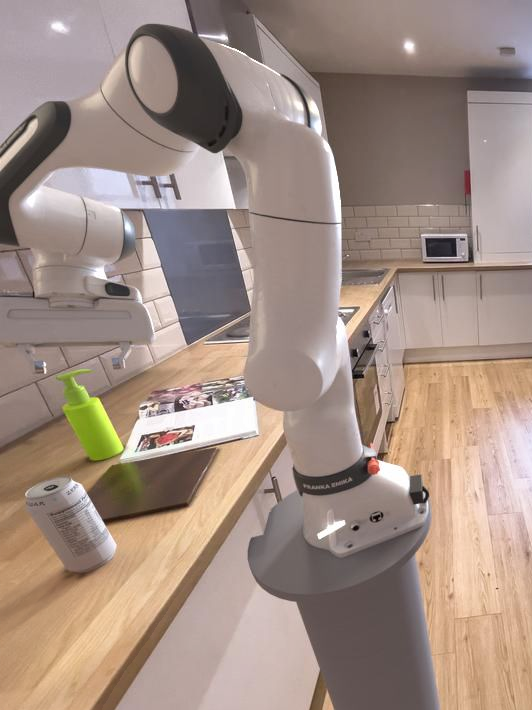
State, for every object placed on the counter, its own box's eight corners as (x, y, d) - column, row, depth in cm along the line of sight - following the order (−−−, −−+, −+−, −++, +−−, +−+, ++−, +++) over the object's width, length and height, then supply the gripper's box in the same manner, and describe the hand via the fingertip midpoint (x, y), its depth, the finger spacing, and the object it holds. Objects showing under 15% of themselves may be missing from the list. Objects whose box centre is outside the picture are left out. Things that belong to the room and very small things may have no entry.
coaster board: (218, 449, 95) (217, 446, 95) (188, 505, 78) (187, 502, 77) (113, 468, 89) (111, 465, 89) (55, 532, 72) (53, 529, 72)
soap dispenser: (134, 447, 97) (96, 369, 88) (97, 463, 91) (53, 381, 82) (120, 441, 99) (82, 365, 90) (84, 457, 93) (40, 377, 85)
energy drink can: (104, 542, 70) (62, 470, 63) (127, 550, 68) (86, 478, 62) (59, 570, 65) (8, 495, 58) (83, 580, 63) (33, 504, 56)
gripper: (-32, 281, 61) (-26, 371, 60) (149, 288, 74) (157, 362, 73) (-15, 297, 66) (-9, 380, 65) (152, 301, 79) (160, 370, 78)
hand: (80, 370), depth 69 cm, fingers open, 8 cm apart
